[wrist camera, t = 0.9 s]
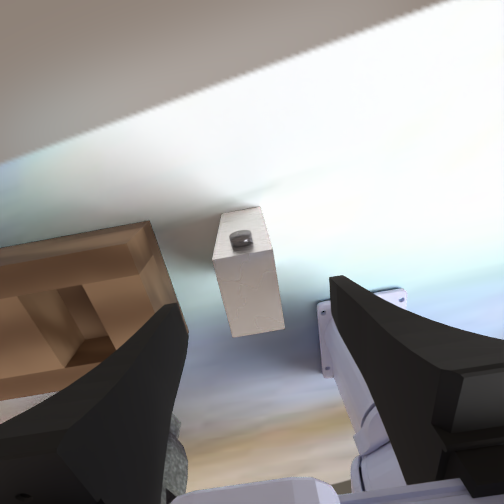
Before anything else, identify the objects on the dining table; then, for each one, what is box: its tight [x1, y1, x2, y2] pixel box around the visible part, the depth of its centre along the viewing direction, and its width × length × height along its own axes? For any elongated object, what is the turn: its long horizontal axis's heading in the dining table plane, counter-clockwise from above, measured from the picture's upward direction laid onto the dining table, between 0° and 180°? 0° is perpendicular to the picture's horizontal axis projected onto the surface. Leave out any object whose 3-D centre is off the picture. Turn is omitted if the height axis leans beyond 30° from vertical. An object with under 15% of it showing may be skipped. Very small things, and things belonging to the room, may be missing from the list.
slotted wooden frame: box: [0, 221, 189, 401], centre depth 21 cm, size 11×16×4 cm
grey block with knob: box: [212, 207, 285, 338], centre depth 17 cm, size 6×3×8 cm, turn 10°
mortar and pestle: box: [161, 414, 188, 504], centre depth 24 cm, size 11×9×12 cm
